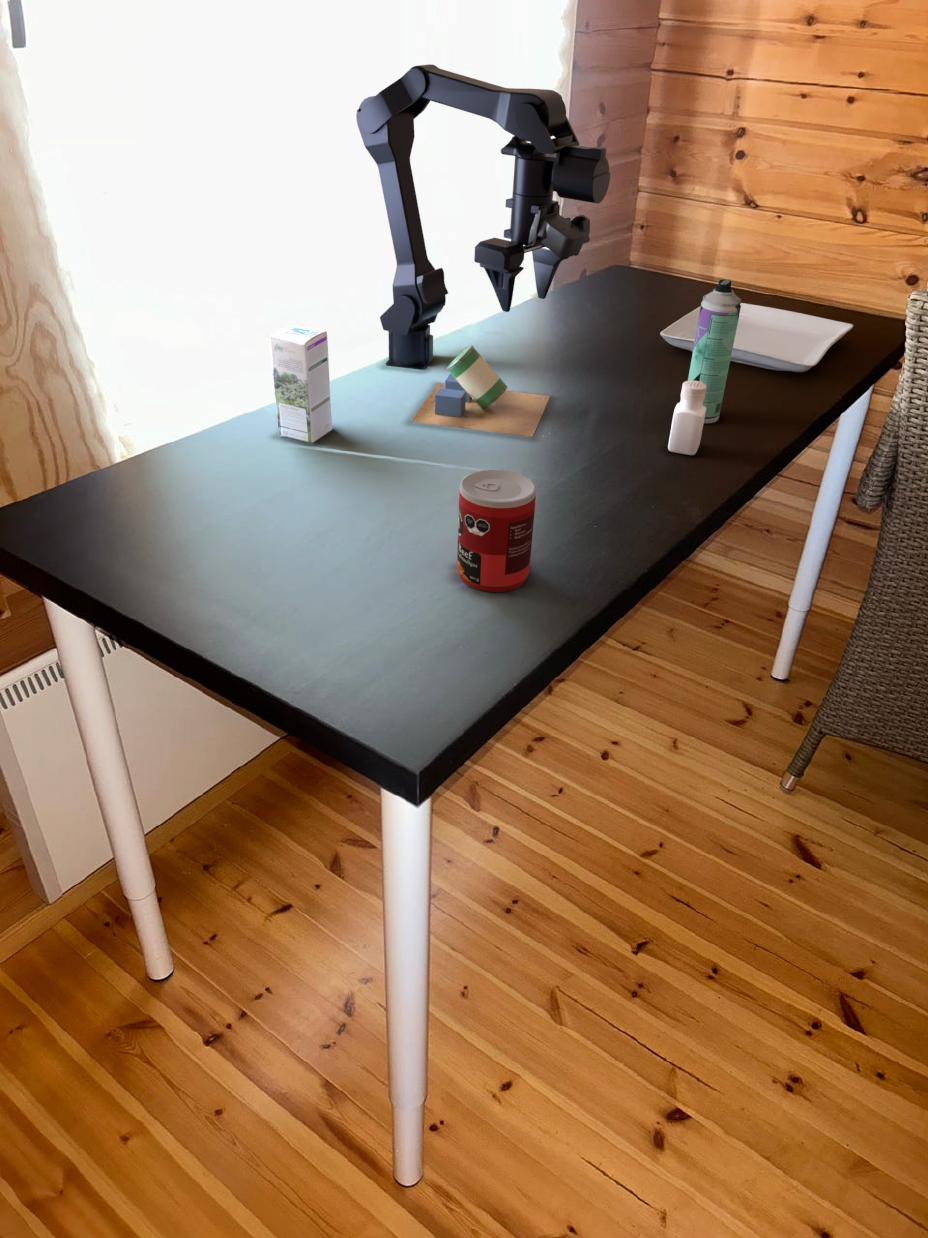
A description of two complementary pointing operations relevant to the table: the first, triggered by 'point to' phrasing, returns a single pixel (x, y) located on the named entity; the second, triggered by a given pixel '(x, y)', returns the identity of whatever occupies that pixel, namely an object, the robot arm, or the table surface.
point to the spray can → (715, 345)
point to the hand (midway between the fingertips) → (524, 304)
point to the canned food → (495, 529)
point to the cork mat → (490, 414)
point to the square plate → (769, 337)
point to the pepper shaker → (688, 419)
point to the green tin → (477, 377)
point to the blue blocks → (451, 399)
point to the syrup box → (301, 382)
